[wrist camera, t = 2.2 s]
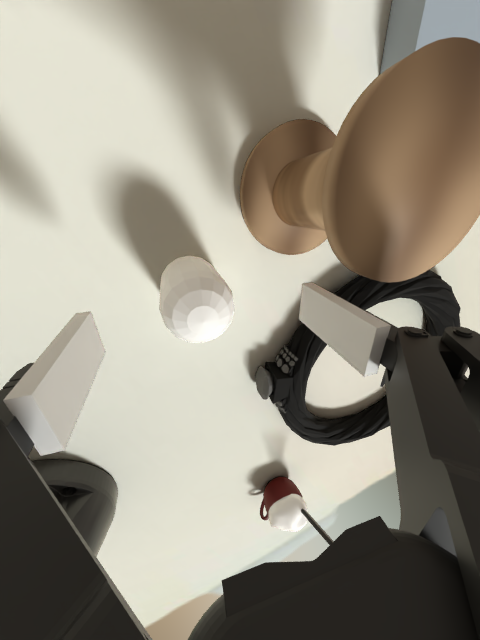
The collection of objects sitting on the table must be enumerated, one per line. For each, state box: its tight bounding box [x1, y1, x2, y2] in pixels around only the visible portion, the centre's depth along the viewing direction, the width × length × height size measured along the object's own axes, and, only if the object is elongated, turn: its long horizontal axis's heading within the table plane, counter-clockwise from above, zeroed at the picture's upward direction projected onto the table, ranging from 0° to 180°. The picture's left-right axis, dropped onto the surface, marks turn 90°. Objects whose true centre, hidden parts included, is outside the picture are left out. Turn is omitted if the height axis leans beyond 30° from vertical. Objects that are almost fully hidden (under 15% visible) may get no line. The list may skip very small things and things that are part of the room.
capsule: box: [159, 255, 235, 343], centre depth 18 cm, size 5×5×8 cm
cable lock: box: [255, 270, 460, 445], centre depth 31 cm, size 28×4×30 cm
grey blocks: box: [380, 0, 480, 74], centre depth 20 cm, size 10×20×3 cm, turn 3°
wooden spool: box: [240, 37, 480, 283], centre depth 16 cm, size 10×10×12 cm
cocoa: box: [260, 477, 334, 545], centre depth 35 cm, size 10×6×12 cm, turn 104°
